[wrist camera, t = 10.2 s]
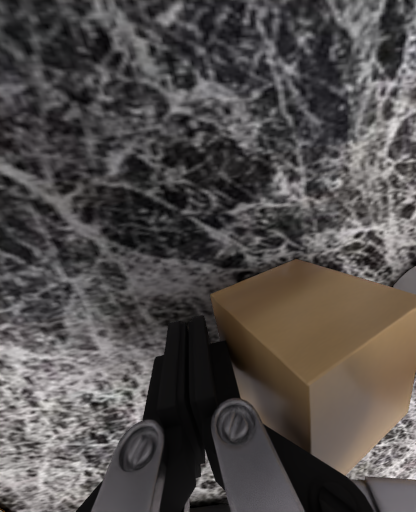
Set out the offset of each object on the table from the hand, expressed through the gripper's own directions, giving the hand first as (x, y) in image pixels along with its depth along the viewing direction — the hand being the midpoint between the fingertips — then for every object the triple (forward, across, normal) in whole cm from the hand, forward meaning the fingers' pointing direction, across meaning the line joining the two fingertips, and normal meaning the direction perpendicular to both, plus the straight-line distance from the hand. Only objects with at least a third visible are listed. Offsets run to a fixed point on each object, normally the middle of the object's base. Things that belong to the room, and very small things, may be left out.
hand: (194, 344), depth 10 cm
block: (+1, -4, 0) cm, 4 cm away
